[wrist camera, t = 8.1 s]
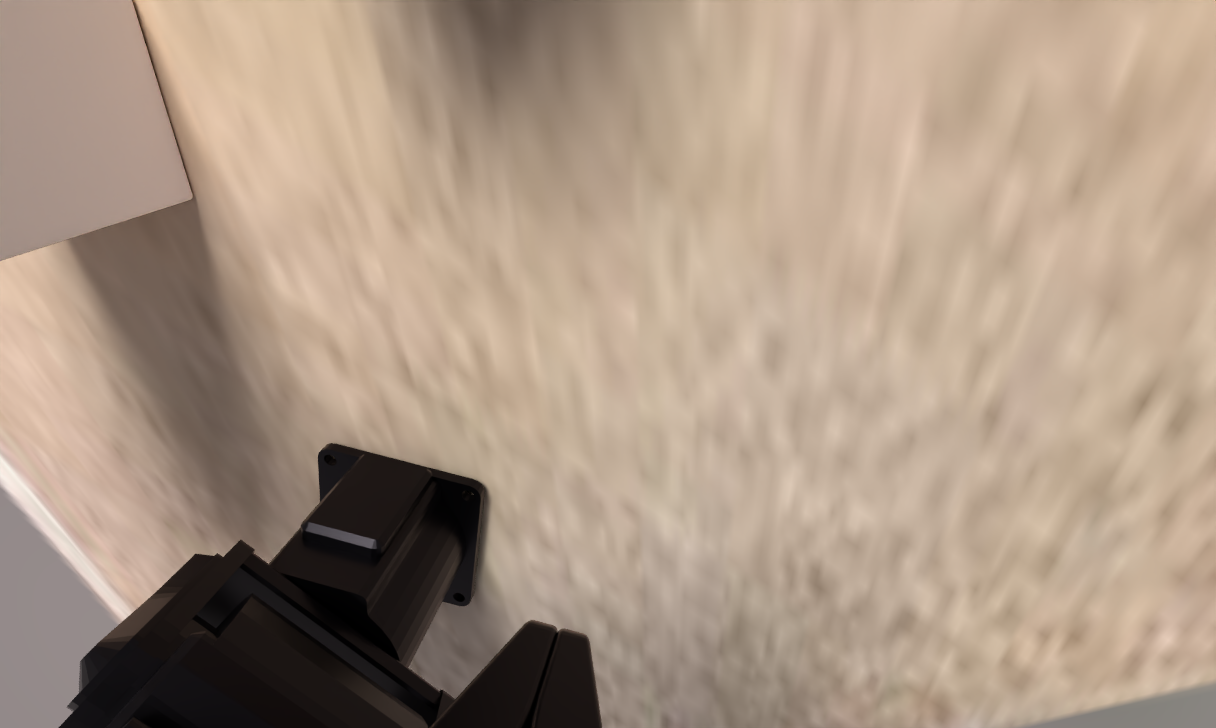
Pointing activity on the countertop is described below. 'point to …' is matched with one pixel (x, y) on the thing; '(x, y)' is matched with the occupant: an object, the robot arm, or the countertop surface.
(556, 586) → the countertop surface
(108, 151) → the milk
